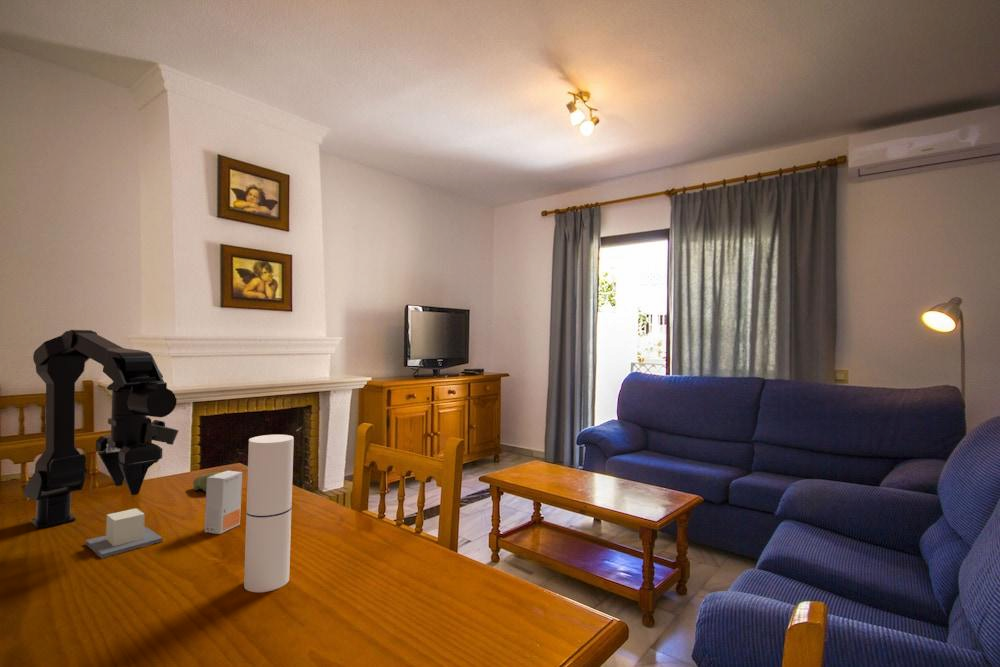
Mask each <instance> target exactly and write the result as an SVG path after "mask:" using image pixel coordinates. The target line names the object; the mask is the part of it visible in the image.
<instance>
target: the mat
mask: <svg viewBox="0 0 1000 667" xmlns="http://www.w3.org/2000/svg"><path fill="white" fill-rule="evenodd" d="M158 542H160V543H163V537H162V536H160V535H159V534H158V533H156V532H154V531H153V530H152V529H150V528H149V527H147V526H145V525H144V539H140V540H136V541H132V542H128V543H124V544H121V545H117V546H113V545H112V544H111V543H109V542H108V541H107V540H106V534H105V535H102V536H97V537H94V538H89V539H86V540H85V545H86V546H87V547H88V548H89V549H90V550H92V551H93V552H94V553H95V554H96V555H97V557H99V558H100V559H104V558H109V557H113V556H116V555H119V553H120V554H123V553H126V552H125V551H127V552H129V551H128V550H131V551H133V550H132V549H134V550H136V549H135V548H138V549H140V548H139V547H142V548H144V547H143V546H145V547H148V546H147V545H149V546H151V545H150V544H153V545H155V544H154V543H156V544H159V543H158ZM122 552H123V553H122ZM112 555H113V556H112Z"/></svg>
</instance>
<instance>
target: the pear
mask: <svg viewBox="0 0 1000 667" xmlns="http://www.w3.org/2000/svg"><path fill="white" fill-rule="evenodd" d="M218 473H219V472H210V473H206V474H200V475H199V476H197V477H195V479H194V480H193V482H192V483H193V491H195V490H196V491H198V490H203V492H205V493H206V488H207V477H210V476H213V475H215V474H218Z"/></svg>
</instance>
